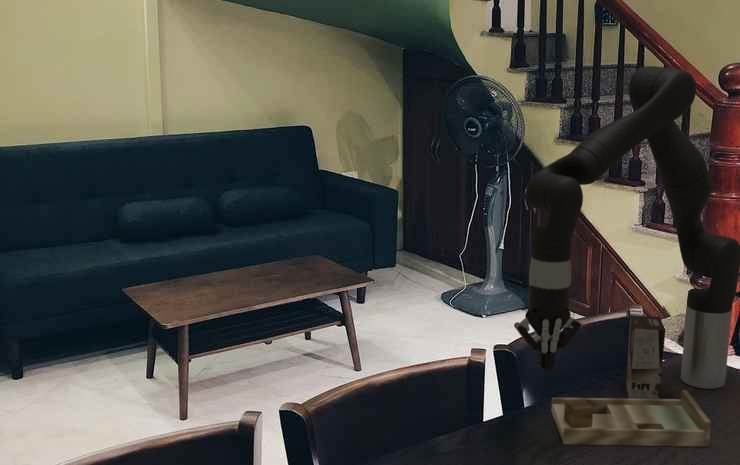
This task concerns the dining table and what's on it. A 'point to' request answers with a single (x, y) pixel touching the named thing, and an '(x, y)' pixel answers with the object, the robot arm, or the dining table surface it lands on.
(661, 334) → the coffee box
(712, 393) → the dining table surface
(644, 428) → the tray
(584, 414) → the walnut block
